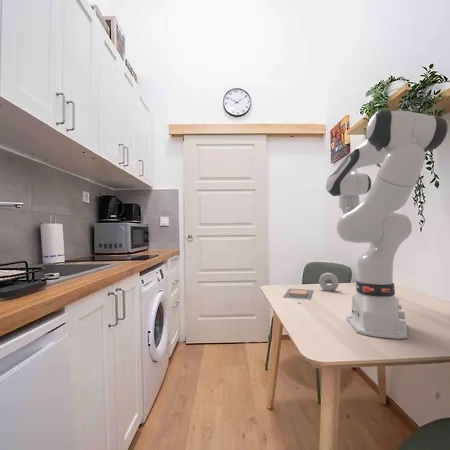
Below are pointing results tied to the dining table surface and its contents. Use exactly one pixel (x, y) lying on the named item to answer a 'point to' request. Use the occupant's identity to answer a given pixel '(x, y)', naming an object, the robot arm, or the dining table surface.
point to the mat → (309, 296)
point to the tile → (298, 293)
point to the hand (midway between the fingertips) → (349, 233)
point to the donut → (332, 277)
